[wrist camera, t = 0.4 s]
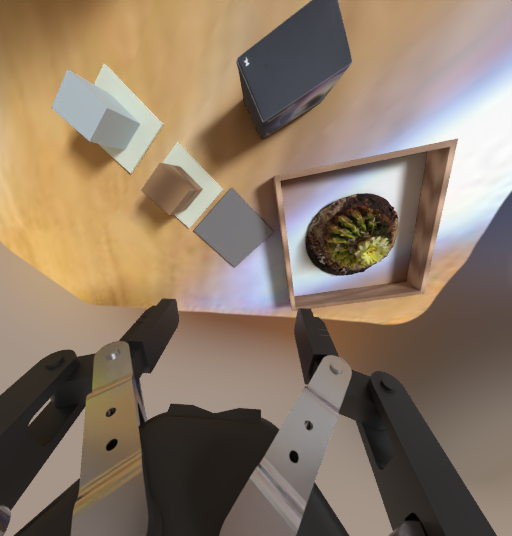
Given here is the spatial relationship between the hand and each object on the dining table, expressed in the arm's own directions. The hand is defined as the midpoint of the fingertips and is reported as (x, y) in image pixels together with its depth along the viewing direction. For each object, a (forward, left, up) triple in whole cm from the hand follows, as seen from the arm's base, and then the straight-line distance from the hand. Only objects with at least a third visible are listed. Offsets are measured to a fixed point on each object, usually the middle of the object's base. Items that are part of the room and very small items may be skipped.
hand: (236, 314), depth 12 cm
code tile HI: (-20, -18, -26) cm, 38 cm away
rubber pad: (0, -4, -26) cm, 27 cm away
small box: (-18, +8, -27) cm, 33 cm away
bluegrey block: (-20, -18, -26) cm, 37 cm away
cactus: (+5, +18, -27) cm, 33 cm away
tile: (-9, -11, -26) cm, 30 cm away
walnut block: (-9, -11, -26) cm, 29 cm away
